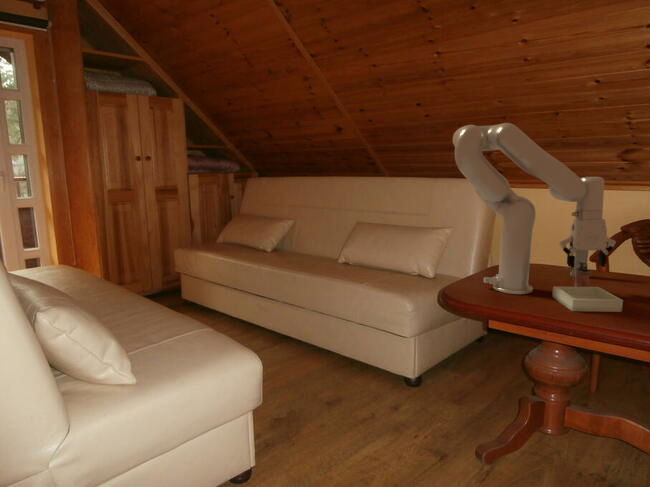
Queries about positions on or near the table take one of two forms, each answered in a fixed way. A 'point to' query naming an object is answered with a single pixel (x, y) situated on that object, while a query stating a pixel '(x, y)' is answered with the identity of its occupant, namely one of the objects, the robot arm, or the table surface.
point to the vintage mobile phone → (579, 257)
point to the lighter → (582, 275)
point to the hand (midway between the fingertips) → (586, 266)
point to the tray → (587, 299)
